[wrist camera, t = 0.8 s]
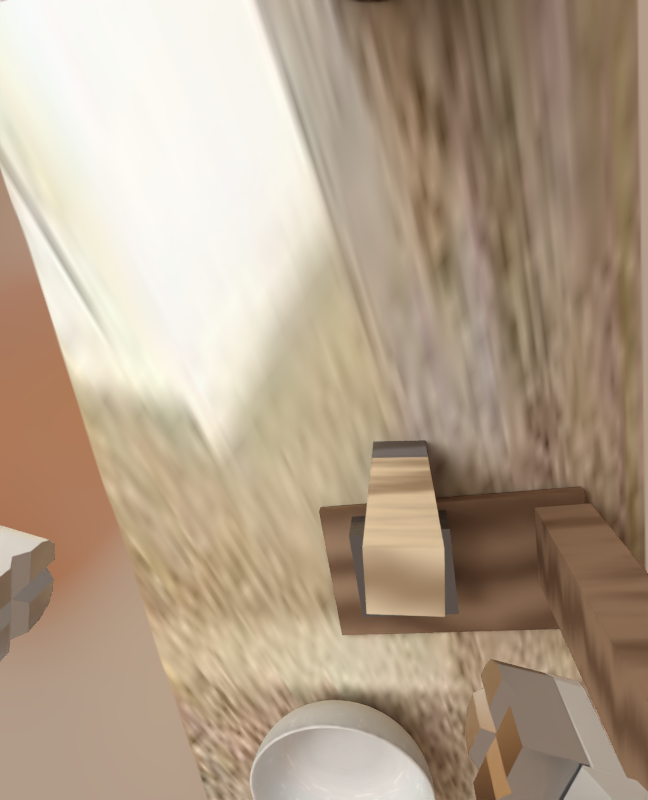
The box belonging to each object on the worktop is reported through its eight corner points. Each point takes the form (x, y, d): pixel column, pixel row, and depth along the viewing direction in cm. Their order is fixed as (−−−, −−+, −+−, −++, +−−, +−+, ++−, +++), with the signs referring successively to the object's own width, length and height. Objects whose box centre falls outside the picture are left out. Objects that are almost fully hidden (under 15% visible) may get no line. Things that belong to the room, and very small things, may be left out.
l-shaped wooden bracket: (320, 507, 49) (253, 736, 25) (586, 486, 44) (807, 743, 21) (343, 628, 53) (303, 924, 29) (589, 620, 49) (776, 964, 25)
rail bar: (373, 441, 46) (362, 547, 29) (425, 440, 46) (444, 548, 28) (376, 487, 48) (366, 613, 31) (426, 487, 47) (444, 616, 30)
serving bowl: (260, 779, 62) (244, 840, 56) (270, 656, 56) (254, 709, 49) (417, 815, 60) (420, 882, 54) (445, 691, 54) (453, 750, 47)
